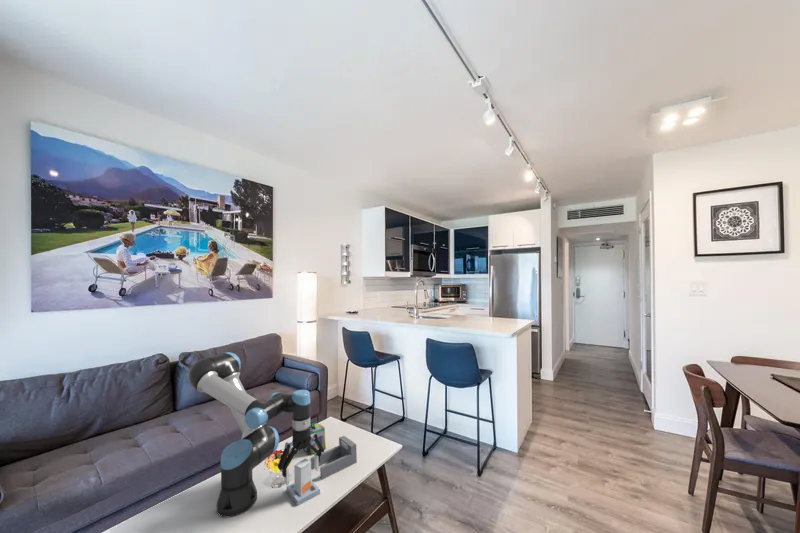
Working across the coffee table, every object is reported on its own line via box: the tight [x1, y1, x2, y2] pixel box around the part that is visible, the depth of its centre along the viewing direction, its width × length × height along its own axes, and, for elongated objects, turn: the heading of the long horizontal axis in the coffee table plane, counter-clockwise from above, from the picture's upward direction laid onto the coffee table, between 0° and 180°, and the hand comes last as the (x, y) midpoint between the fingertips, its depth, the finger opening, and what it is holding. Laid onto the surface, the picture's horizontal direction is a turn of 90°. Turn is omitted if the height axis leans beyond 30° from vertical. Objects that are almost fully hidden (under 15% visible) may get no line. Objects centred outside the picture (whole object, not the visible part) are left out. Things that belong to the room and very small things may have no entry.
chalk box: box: [303, 420, 327, 456], centre depth 170 cm, size 9×9×15 cm
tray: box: [286, 479, 321, 506], centre depth 136 cm, size 10×12×2 cm
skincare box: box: [293, 458, 312, 496], centre depth 136 cm, size 6×4×12 cm
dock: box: [310, 435, 358, 480], centre depth 154 cm, size 19×12×9 cm, turn 131°
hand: (301, 476), depth 136 cm, fingers open, 13 cm apart
